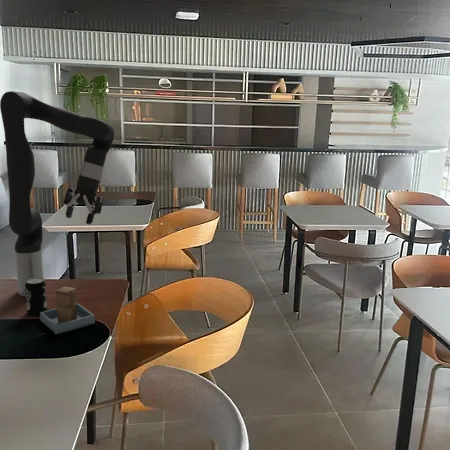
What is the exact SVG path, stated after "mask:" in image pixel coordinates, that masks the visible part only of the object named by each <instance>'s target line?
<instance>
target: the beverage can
mask: <svg viewBox="0 0 450 450" xmlns="http://www.w3.org/2000/svg"><path fill="white" fill-rule="evenodd" d="M25 292H26V297H25V302H26V304H25V305H26V312H27V314H28V315H30V316H33V317H34V316H35V317H36V316H40V312H44V311H48V303H47V301H48V300H47V299H48V298H47V286H46V282H45V279H44V277H43V278H30V279H28V280H26V284H25Z"/></svg>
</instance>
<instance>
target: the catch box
mask: <svg viewBox="0 0 450 450" xmlns="http://www.w3.org/2000/svg"><path fill="white" fill-rule="evenodd" d="M76 303H77V319H76V320H72V321H69V322H65V323H61V322H58V314H57V307H56V308H53V309H47V311H44V312H40V315H39V317H40V319H39V320H40V322H42V324H43V325H44V326H46V327H47V328H48V329H49V330H50V332H51V331H52V333H53V334H55V335H56V334H57V335H60V334H63V332H64V333H66V332H71V331H74V330H78V329H80V328H85V327H87V326H90V325H94V324H95V323H96V321H95V320H96V319H95V314H93V313H92V312H91V311H89V310H88V309H87V308H85V307H84V306H82V305H81V304H80V303H78V302H76ZM59 333H60V334H59Z"/></svg>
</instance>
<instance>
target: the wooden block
mask: <svg viewBox="0 0 450 450" xmlns="http://www.w3.org/2000/svg"><path fill="white" fill-rule="evenodd" d="M76 290H77V288H76V287H70V286H63V287H60V288H59V289H57V290H56V291H55V294H56V295H55V296H56V297H55V298H56V308H57V314H58V322H61V323H65V322H69V321H72V320H76V319H77V303H78V302H77V291H76Z"/></svg>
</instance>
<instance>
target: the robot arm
mask: <svg viewBox="0 0 450 450" xmlns="http://www.w3.org/2000/svg"><path fill="white" fill-rule="evenodd" d="M0 115H1V118H2V123H3V124H2V125H3V130H4V140H5V141H4V142H5V153H6V171H7V179H8V180H7V181H8V194H9V209H8V210H9V212H8V225H9V228H10V229H11V231H12V232H13V233H14V234H15V235H17V240H16V242H15V243H14V252H15V253H14V254H15V255H14V257H15V264H16V266H15V267H16V276H17V279H16V280H17V289H18V290H17V291H18V292H17V293H18V295H19V296H21V297H25V298H26V292H25V284H26V280H28V279H30V278H43V279H44V269H43V255H42V243H43V220H42V215H41V213H40V212H39V210H37V209H35V208H34V207H31V193H32V190H33V189H32V188H33V185H34V181H35V176H36V169H35V156H34V152H33V150H32V147H31V145H30V143H29V141H28V138H27V136H26V131H25V119H31V120H38V121H43V122H46V123H48V124H50V125H52V126H54V127H56V128H58V129H60V130H63V131H66V132H69V133H72V134H75V135H80V136H86V137H88V138H91V139H93V140H92V142H91V146H89V147H87V149H86V151H85V155H84V158H83V161H82V165H81V168H80V171H79V174H78V178H77V182H76V184H75V186H76V188H75V189H74V188H71V187H68V188H67V189H66V193H65V195H64V199H63V204H65V206H66V211H65V217H66V218H68V219H71V218H72V216H73V212H74V209H75V208H74V207H75V206H77V205H78V204H81V205H82V206H83V205H84V206H85V207H86V208H87V209H88V212H89V213H87V217H86V221H85V224H87V225H92V224H93V222H94V218H95V215H100V214H101V213H102V210H103V209H102V208H103V204H104V203H103V202H104V197H102V196H97V192H98V191H99V188H100V184H101V180H102V178H103V177H102V176H103V171H104V166H105V163H106V159H107V154H108V153H109V151H110V148H111V147H112V144H113V141H114V138H115V129H114V128H113V126H111V125H110V124H109V123H107V122H106V121H105V120H102V119H99V118H94V117H90V116H85V115H83V114H80V113H77V112H73V111H71V110H68V109H65V108H64V109H63V108H60V107H57V106H53V105H52V104H48V103H45V102H44V101H41V100H39V99H37V98H35V97H33V96H31V95H30V94H27V93H25V92H22V91H11V90H10V91H6V92H5V93H3V94H2V96H1V98H0ZM94 201H95V203H94Z"/></svg>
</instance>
